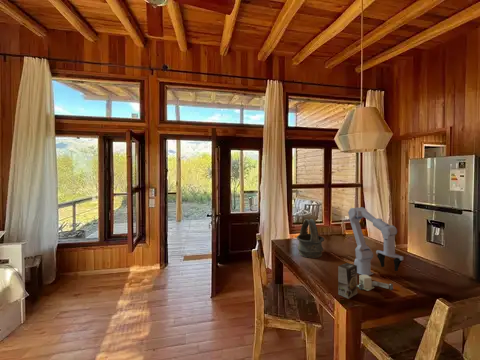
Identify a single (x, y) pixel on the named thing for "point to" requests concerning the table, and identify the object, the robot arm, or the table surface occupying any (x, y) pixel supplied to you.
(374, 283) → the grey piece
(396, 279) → the table surface
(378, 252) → the robot arm
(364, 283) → the u block
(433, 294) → the table surface
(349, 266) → the coffee box
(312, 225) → the basket with handle
